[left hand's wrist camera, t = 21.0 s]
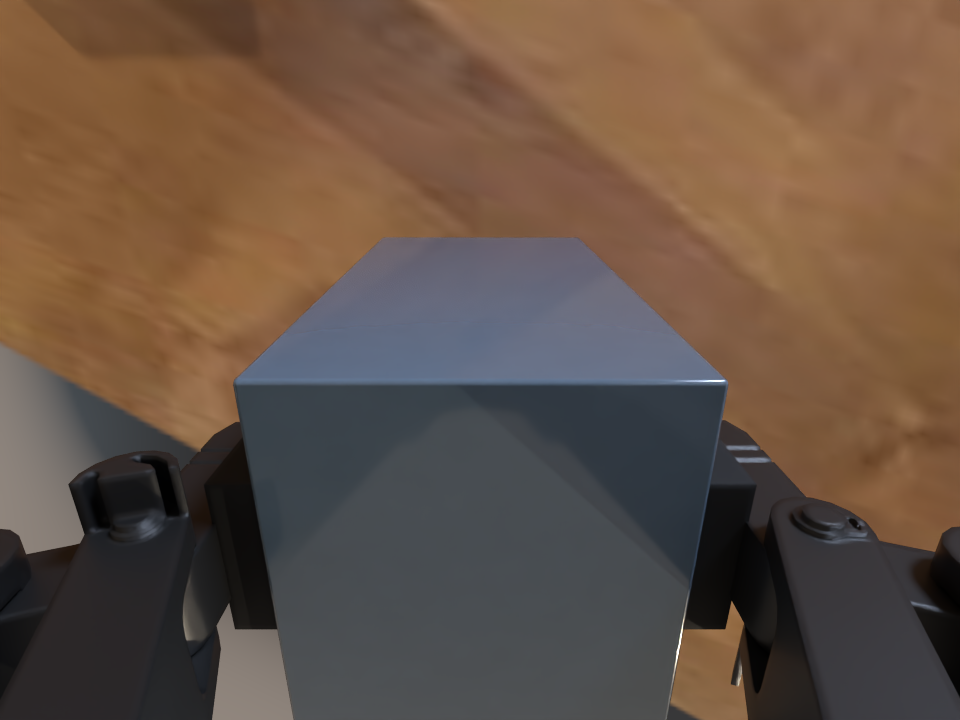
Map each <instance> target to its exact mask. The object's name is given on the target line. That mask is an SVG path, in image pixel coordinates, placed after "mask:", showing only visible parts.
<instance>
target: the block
mask: <svg viewBox="0 0 960 720" xmlns="http://www.w3.org/2000/svg"><path fill="white" fill-rule="evenodd" d="M233 386H234V392H235V397H236V403H237V408H238V414H239V419H240V425H241V430H242V436H243V442H244V447H245V453H246V458H247V464H248V469H249V475H250V480H251V486H252V491H253V497H254V502H255V508H256V514H257V519H258V525H259V530H260V536H261V541H262V547H263V552H264V558H265V563H266V569H267V574H268V580H269V586H270V591H271V597H272V602H273V608H274V613H275V619H276V624H277V630H278V635H279V641H280V646H281V652H282V658H283V663H284V669H285V674H286V680H287V685H288V691H289V696H290V702H291V707H292V713H293V718H294V720H667V717H668V711H669V706H670V700H671V695H672V689H673V684H674V678H675V673H676V668H677V662H678V657H679V651H680V646H681V640H682V635H683V629H684V624H685V618H686V613H687V608H688V602H689V597H690V591H691V586H692V580H693V575H694V569H695V564H696V559H697V553H698V548H699V542H700V537H701V531H702V526H703V520H704V515H705V510H706V504H707V499H708V493H709V488H710V482H711V477H712V471H713V466H714V460H715V455H716V450H717V444H718V439H719V433H720V428H721V422H722V417H723V411H724V406H725V401H726V395H727V390H728V381H727V379H726V378H724V377H723V376H722V375H721V374H720V373H719V372H718V371H717V370H716V369H715V368H714V367H713V366H712V365H711V364H710V363H709V362H708V361H707V360H706V359H705V358H704V357H703V356H701V355H700V354H699V353H698V352H697V351H696V350H695V349H694V348H693V347H692V346H691V345H690V344H689V343H688V342H687V341H686V340H685V339H684V338H683V337H682V336H681V335H680V334H678V333H677V332H676V331H675V330H674V329H673V328H672V327H671V326H670V325H669V324H668V323H667V322H666V321H665V320H664V319H663V318H662V317H661V316H660V315H659V314H658V313H657V312H655V311H654V310H653V309H652V308H651V307H650V306H649V305H648V304H647V303H646V302H645V301H644V300H643V299H642V298H641V297H640V296H639V295H638V294H637V293H636V292H635V291H634V290H633V289H631V288H630V287H629V286H628V285H627V284H626V283H625V282H624V281H623V280H622V279H621V278H620V277H619V276H618V275H617V274H616V273H615V272H614V271H613V270H612V269H611V268H610V267H608V266H607V265H606V264H605V263H604V262H603V261H602V260H601V259H600V258H599V257H598V256H597V255H596V254H595V253H594V252H593V251H592V250H591V249H590V248H589V247H588V246H587V245H585V244H584V243H583V242H582V241H581V240H580V239H579V238H382V239H381V240H380V241H379V242H378V243H377V244H376V245H375V246H374V247H373V248H371V249H370V250H369V251H368V252H367V253H366V254H365V255H364V256H363V257H362V258H361V259H360V260H359V261H358V262H357V263H356V264H355V265H354V266H353V267H352V268H351V269H349V270H348V271H347V272H346V273H345V274H344V275H343V276H342V277H341V278H340V279H339V280H338V281H337V282H336V283H335V284H334V285H333V286H332V287H331V288H330V289H329V290H328V291H326V292H325V293H324V294H323V295H322V296H321V297H320V298H319V299H318V300H317V301H316V302H315V303H314V304H313V305H312V306H311V307H310V308H309V309H308V310H307V311H306V312H304V313H303V314H302V315H301V316H300V317H299V318H298V319H297V320H296V321H295V322H294V323H293V324H292V325H291V326H290V327H289V328H288V329H287V330H286V331H285V332H284V333H283V334H281V335H280V336H279V337H278V338H277V339H276V340H275V341H274V342H273V343H272V344H271V345H270V346H269V347H268V348H267V349H266V350H265V351H264V352H263V353H262V354H261V355H259V356H258V357H257V358H256V359H255V360H254V361H253V362H252V363H251V364H250V365H249V366H248V367H247V368H246V369H245V370H244V371H243V372H242V373H241V374H240V375H239V376H238V377H236V378H235V379H234V383H233Z"/></svg>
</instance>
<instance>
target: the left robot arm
mask: <svg viewBox="0 0 960 720" xmlns="http://www.w3.org/2000/svg"><path fill="white" fill-rule="evenodd" d="M69 488H70V491H71V494H72V497H73V500H74V503H75V506H76V509H77V512H78V515H79V519H80V521H81V525H82V528H83V531H84V534H85V535H84V537H83V539H82V541H81V543H80V544H76V545H72V546H67V547H62V548H56V549H51V550H47V551H41V552H36V553H31V554H26V553H25V550H24V548H23V545H22V542H21V540H20V537H19V536H18V535H17V534H16V533H14V532H12V531H11V530H5V529H0V720H212V715H213V707H214V699H215V691H216V683H217V675H218V667H219V659H220V651H221V647H220V640H219V635H218V631H217V626H216V625H217V623H218V622H219V620H220V618H221V616H222V614H223V613H224V611H225V609H226V607H227V605H228V604H229V603H230V608H231V613H232V617H233V622H234V626H235V629H277V624H276V619H275V613H274V608H273V602H272V597H271V591H270V586H269V580H268V574H267V569H266V563H265V558H264V552H263V547H262V541H261V536H260V530H259V525H258V519H257V514H256V508H255V502H254V497H253V491H252V486H251V480H250V475H249V469H248V464H247V458H246V453H245V447H244V442H243V436H242V430H241V425H240V422H235V423H233V424H232V425H230V426H228V427H226V428H225V429H223V430H221V431H220V432H218V433H216V434H214V435H213V436H212V438H211V439H210V440H209V441H208V442H207V443H206V444H205V445H204V446H203V447H202V448H201V452H198V453H197V454H196V455H195V456H194V457H193V458H192V459H191V460H190V464H187V465H186V466H185V467H184V468H183V469H182V470H181V471H180V468H179V464H178V460H177V458H175V457H174V456H173V455H171V454H170V453H166V452H160V451H140V452H133V453H128V454H124V455H119V456H115V457H113V458H110V459H107V460H105V461H102V462H99V463H97V464H95V465H93V466H91V467H90V468H88V469H86V470H84V471H83V472H81V473H79V474H78V475H77V476H76V477H75V478H74V479H73V480H72V481H71V482H70V483H69ZM731 601H732V602H733V604H734V605H735V607H736V609H737V611H738V613H739V614H740V616H741V618H742V620H743V622H744V626H743V631H742V635H741V639H740V643H739V648H738V652H737V656H736V660H735V665H734V669H733V674H732V680H731V684H732V685H736V686H739V683H740V679H741V674H743V682H744V689H745V697H746V705H747V713H748V720H960V527H951V528H950V529H948V530H947V531H945V532H944V533H942V536H941V539H940V541H939V544H938V547H937V549H936V552H932V551H927V550H922V549H917V548H911V547H906V546H901V545H896V544H891V543H886V542H882V541H879V540H878V538H877V536H876V534H875V533H874V532H873V530H872V529H871V528H870V527H869V525H868V524H867V523H866V522H865V521H863V520H862V519H860V518H859V517H858V516H856V515H855V514H853V513H852V512H850V511H848V510H846V509H844V508H841V507H839V506H837V505H835V504H832V503H829V502H826V501H822V500H818V499H814V498H807V497H806V496H805V495H804V494H803V493H802V492H801V491H800V490H799V489H798V488H797V487H796V486H795V484H794V483H793V482H792V481H791V480H790V479H789V478H788V477H787V476H786V475H785V474H784V473H783V472H782V470H781V469H780V468H779V467H778V466H777V465H776V464H775V463H774V462H771V459H770V457H769V456H768V455H767V454H766V453H765V452H764V451H763V450H760V447H759V446H758V445H757V443H756V442H755V441H754V440H753V439H752V438H751V437H750V436H749V435H748V434H747V433H746V432H744V431H743V430H741V429H739V428H738V427H736V426H734V425H732V424H731V423H729V422H727V421H725V420H722V422H721V428H720V433H719V439H718V444H717V450H716V455H715V460H714V466H713V471H712V477H711V482H710V488H709V493H708V499H707V504H706V510H705V515H704V520H703V526H702V531H701V537H700V542H699V548H698V553H697V559H696V564H695V569H694V575H693V580H692V586H691V591H690V597H689V602H688V608H687V613H686V618H685V624H684V629H725V628H726V624H727V619H728V615H729V610H730V605H731Z"/></svg>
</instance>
